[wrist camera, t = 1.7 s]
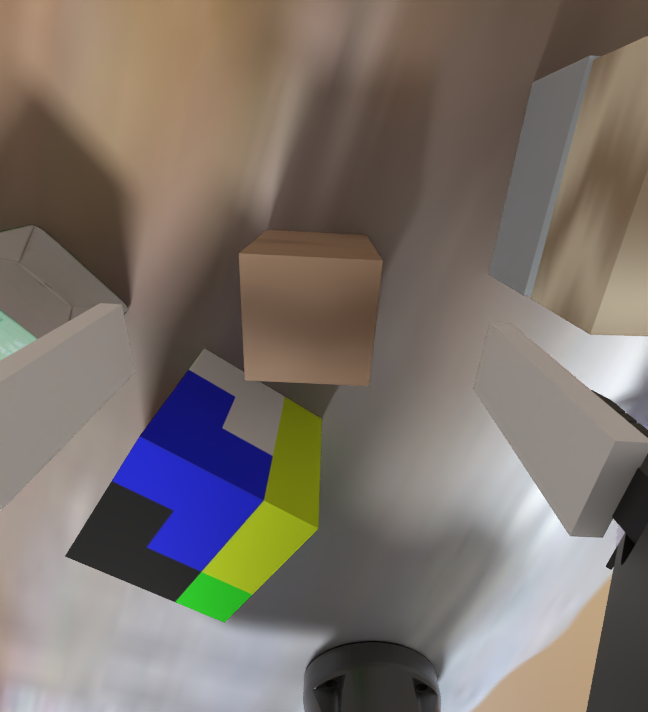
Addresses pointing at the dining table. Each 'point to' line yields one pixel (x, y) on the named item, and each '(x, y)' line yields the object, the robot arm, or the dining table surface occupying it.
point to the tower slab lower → (538, 174)
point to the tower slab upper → (603, 205)
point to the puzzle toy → (210, 493)
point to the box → (41, 287)
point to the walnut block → (309, 307)
